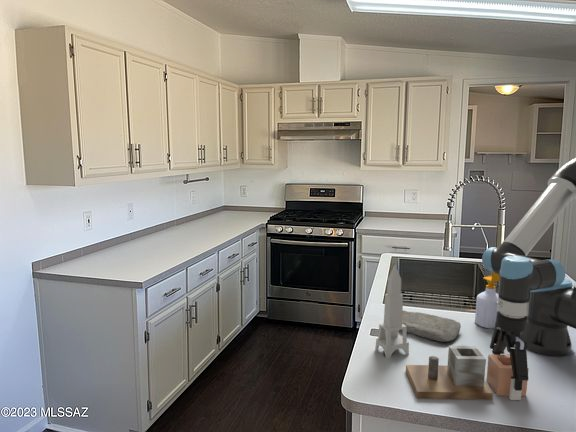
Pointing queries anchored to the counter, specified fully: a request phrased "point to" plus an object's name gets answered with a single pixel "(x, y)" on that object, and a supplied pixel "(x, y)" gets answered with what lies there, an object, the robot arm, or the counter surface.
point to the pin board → (443, 385)
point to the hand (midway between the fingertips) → (505, 387)
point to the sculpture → (393, 318)
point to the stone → (431, 326)
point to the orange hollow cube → (501, 374)
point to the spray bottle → (487, 304)
